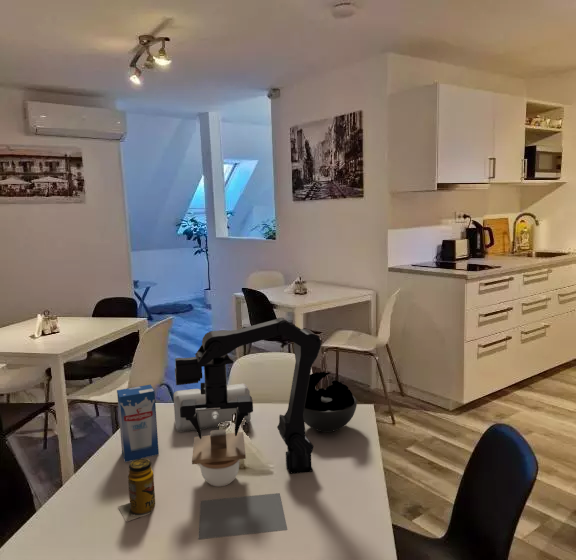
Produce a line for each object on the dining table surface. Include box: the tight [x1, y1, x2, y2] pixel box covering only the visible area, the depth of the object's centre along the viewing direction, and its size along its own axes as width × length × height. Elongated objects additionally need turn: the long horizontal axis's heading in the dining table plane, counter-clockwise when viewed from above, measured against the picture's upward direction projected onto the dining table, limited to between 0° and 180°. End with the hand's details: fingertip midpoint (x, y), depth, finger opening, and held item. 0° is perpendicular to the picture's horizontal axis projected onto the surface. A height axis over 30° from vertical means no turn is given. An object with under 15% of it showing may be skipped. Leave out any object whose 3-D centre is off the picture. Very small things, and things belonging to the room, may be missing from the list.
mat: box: [197, 492, 288, 540], centre depth 123 cm, size 20×15×1 cm
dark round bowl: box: [303, 371, 358, 433], centre depth 167 cm, size 20×20×19 cm
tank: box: [173, 383, 252, 433], centre depth 172 cm, size 25×16×12 cm, turn 105°
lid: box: [191, 428, 247, 465], centre depth 136 cm, size 14×14×4 cm
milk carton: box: [116, 384, 160, 463], centre depth 153 cm, size 10×6×20 cm, turn 115°
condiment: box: [117, 458, 156, 523], centre depth 126 cm, size 7×8×12 cm
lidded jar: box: [199, 459, 240, 487], centre depth 137 cm, size 11×11×9 cm
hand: (218, 436), depth 136 cm, fingers open, 9 cm apart
